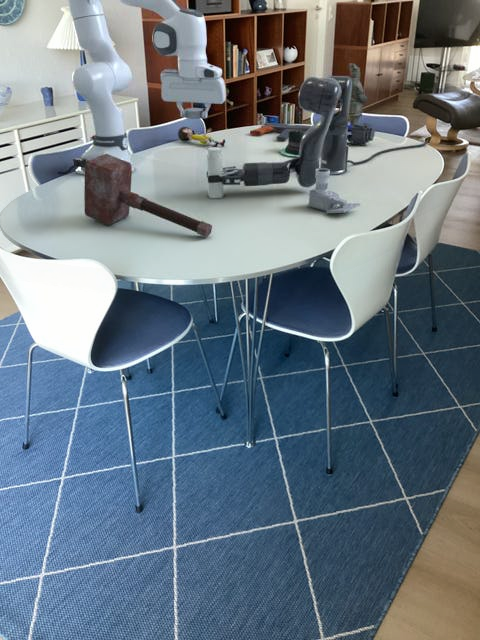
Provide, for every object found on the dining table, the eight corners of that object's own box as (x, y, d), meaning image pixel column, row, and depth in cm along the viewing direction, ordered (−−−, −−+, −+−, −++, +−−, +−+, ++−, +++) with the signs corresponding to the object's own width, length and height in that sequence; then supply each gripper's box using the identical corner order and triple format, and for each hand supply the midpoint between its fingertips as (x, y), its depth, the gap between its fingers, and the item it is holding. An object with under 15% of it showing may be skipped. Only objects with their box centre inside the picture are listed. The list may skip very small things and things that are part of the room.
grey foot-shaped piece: (322, 165, 173) (363, 174, 165) (319, 201, 179) (359, 212, 171) (305, 171, 168) (347, 180, 159) (303, 208, 174) (344, 219, 165)
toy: (345, 120, 249) (377, 123, 242) (343, 139, 253) (375, 143, 246) (337, 123, 243) (369, 127, 236) (336, 143, 247) (367, 147, 240)
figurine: (211, 139, 238) (170, 125, 250) (210, 157, 242) (170, 142, 255) (230, 134, 247) (190, 120, 259) (229, 150, 251) (189, 136, 263)
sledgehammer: (221, 197, 152) (105, 152, 164) (203, 207, 145) (83, 159, 156) (213, 251, 162) (103, 205, 174) (195, 264, 155) (82, 215, 166)
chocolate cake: (332, 145, 241) (326, 158, 224) (294, 164, 249) (286, 177, 233) (317, 113, 235) (310, 124, 219) (279, 133, 244) (269, 145, 228)
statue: (367, 132, 266) (374, 63, 251) (349, 133, 264) (355, 64, 249) (357, 127, 275) (362, 61, 260) (339, 129, 273) (344, 62, 258)
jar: (205, 196, 187) (203, 148, 179) (216, 192, 190) (214, 146, 182) (216, 199, 184) (214, 151, 176) (226, 195, 187) (225, 148, 179)
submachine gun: (243, 132, 260) (267, 122, 278) (243, 138, 261) (267, 127, 280) (305, 138, 246) (326, 127, 265) (305, 144, 248) (326, 133, 266)
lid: (182, 118, 175) (182, 110, 174) (188, 114, 180) (188, 107, 178) (200, 119, 173) (199, 111, 172) (206, 116, 178) (205, 108, 177)
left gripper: (156, 70, 168) (159, 117, 176) (222, 72, 165) (223, 120, 172) (163, 67, 174) (165, 113, 181) (227, 69, 170) (227, 116, 178)
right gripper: (254, 157, 189) (205, 160, 188) (261, 168, 177) (208, 171, 175) (255, 179, 193) (206, 181, 192) (261, 191, 181) (209, 194, 179)
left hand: (194, 117), depth 177 cm, fingers closed on lid, 5 cm apart
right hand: (207, 176), depth 184 cm, fingers closed on jar, 5 cm apart
